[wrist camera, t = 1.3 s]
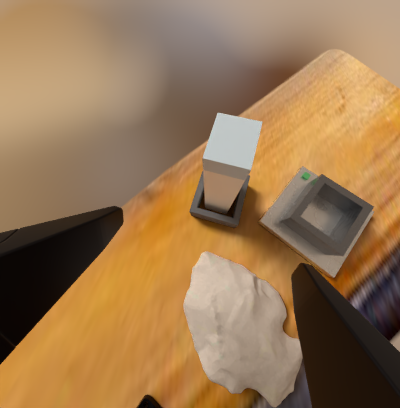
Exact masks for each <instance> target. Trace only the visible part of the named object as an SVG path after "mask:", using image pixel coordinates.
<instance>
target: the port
mask: <svg viewBox="0 0 400 408" xmlns="http://www.w3.org/2000/svg"><path fill="white" fill-rule="evenodd" d="M372 209H373V206H372V205H370V204H369V203H367V202H365V201H364V200H362V199H361V198H359V197H357V196H356V195H354V194H353V193H351V192H350V191H348V190H346V189H345V188H343V187H342V186H340V185H338V184H337V183H335V182H334V181H332V180H331V179H329V178H327V177H326V176H324V175H323V174H321V175H320V176H317V175H316V174H314V173H312V172H311V171H309V170H308V169H306V168H305V167H303V166H302V167H301V168H300V169H299V170H298V171H297V172H296V174H295V175H294V176H293V177H292V179H291V180H290V181H289V183H288V184H287V185H286V186H285V188H284V189H283V190H282V192H281V193H280V194H279V195H278V197H277V198H276V199H275V201H274V202H273V203H272V204H271V206H270V207H269V208H268V210H267V211H266V212H265V213H264V215H263V216H262V217H261V219H260V220H259V221H258V223H259V224H261V225H262V226H263V227H264V228H266V229H267V230H268V231H270V232H271V233H272V234H273V235H275V236H276V237H277V238H279V239H280V240H281V241H283V242H284V243H285V244H286V245H288V246H289V247H290V248H292V249H293V250H294V251H295V252H297V253H298V254H299V255H301V256H302V257H303V258H305V259H306V260H307V261H308V262H310V263H311V264H312V265H314V266H315V267H316V268H317V269H319V270H320V271H321V272H323V273H324V274H325V275H326V276H328V277H333V278H334V277H335V276H336V274H337V272H338V271H339V269H340V267H341V266H342V264H343V262H344V261H345V259H346V258H347V256H348V254H349V253H350V251H351V249H352V248H353V246H354V244H355V243H356V241H357V240H358V238H359V236H360V235H361V233H362V231H363V230H364V228H365V226H366V225H367V223H368V222H369V220H370V218H371V217H372V215H373V213H374V211H372Z"/></svg>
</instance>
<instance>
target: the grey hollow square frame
mask: <svg viewBox="0 0 400 408" xmlns="http://www.w3.org/2000/svg"><path fill="white" fill-rule="evenodd" d="M249 178H250V175H248V176H247V178H246V180H245V182H244V183H243V185H242V187H241V189H240V191H239V192H238V195H237V199H236V203H235V206H234V210H233V214H232V217H229V216H225V215H222V214H218V213H214V212H211V211H207V210H204V209H200V208H199V207H200V204H201V200H202V197H203V194H204V176H203V172H202V175H201V178H200V181H199V184H198V187H197V190H196V193H195V196H194V199H193V202H192V205H191V208H190V213H191V215H192V216H195V217H199V218H202V219H205V220H209V221H212V222H216V223H219V224H223V225H226V226H229V227H233V228H235V227H237V226H238V224H239V220H240V216H241V211H242V207H243V203H244V199H245V195H246V191H247V186H248V182H249Z"/></svg>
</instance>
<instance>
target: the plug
mask: <svg viewBox="0 0 400 408" xmlns="http://www.w3.org/2000/svg"><path fill="white" fill-rule="evenodd" d="M261 126H262V122H261V121H256V120H251V119H246V118H241V117H237V116H232V115H227V114H222V113H218V114H217V117H216V120H215V123H214V126H213V129H212V132H211V135H210V138H209V141H208V143H207V146H206V149H205V152H204V155H203V176H204V196H205V208H206V209H210V210H213V211H217V212H220V213H224V214H227V212H228V210H229V209H230V207H231V205H232V203H233V201H234V200H235V198H236V196H237V194H238V192H239V191H240V189H241V187H242V185H243V183H244V182H245V180H246V178H247V176H248V174H249V173H250V171H251V168H252V164H253V159H254V155H255V151H256V147H257V143H258V139H259V134H260V130H261Z"/></svg>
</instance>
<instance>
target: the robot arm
mask: <svg viewBox="0 0 400 408" xmlns="http://www.w3.org/2000/svg"><path fill="white" fill-rule="evenodd" d="M123 221H124V220H123V210H122V208H120V207H117V206H112V207H107V208H103V209H99V210H95V211H91V212H86V213H82V214H78V215H74V216H69V217H65V218H61V219H57V220H53V221H48V222H44V223H40V224H36V225H32V226H27V227H23V228H20V229H15V230H10V231H6V232H2V233H0V364H1V363H2V362H3V361H4V360H5V359H6V358H7V357H8V355H9V354H10V353H11V352H12V351H13V350H14V349H15V348H16V346H17V345H18V344H19V343H20V342H21V341H22V340H23V339H24V337H25V336H26V335H27V334H28V333H29V332H30V331H31V330H32V329H33V328H34V326H35V325H36V324H37V323H38V322H39V321H40V320H41V319H42V318H43V316H44V315H45V314H46V313H47V312H48V311H49V310H50V309H51V308H52V306H53V305H54V304H55V303H56V302H57V301H58V300H59V299H60V298H61V296H62V295H63V294H64V293H65V292H66V291H67V290H68V289H69V288H70V287H71V285H72V284H73V283H74V282H75V281H76V280H77V279H78V278H79V277H80V275H81V274H82V273H83V272H84V271H85V270H86V269H87V268H88V267H89V265H90V264H91V263H92V262H93V261H94V260H95V259H96V258H97V257H98V255H99V254H100V253H101V252H102V251H103V250H104V249H105V247H106V246H107V245H108V244H109V242H110V241H111V239H112V238H113V237H114V235H115V234H116V233H117V231H118V230H119V229H120V227H121V226H122V224H123ZM291 281H292V293H293V305H294V314H295V320H296V325H297V330H298V335H299V341H300V346H301V351H302V356H303V362H304V367H305V372H306V377H307V383H308V388H309V393H310V398H311V404H312V408H400V352H399V351H398V350H397V349H396V348H395V347H394V346H393V345H392V344H391V343H390V342H389V341H388V340H387V339H386V338H385V337H384V336H383V335H382V334H381V333H380V332H379V331H378V330H377V329H376V328H375V327H374V326H373V325H372V324H371V323H370V322H369V321H368V320H367V319H366V318H365V317H364V316H363V315H362V314H360V313H359V312H358V311H357V310H356V309H355V308H354V307H353V306H352V305H351V304H350V303H349V302H348V301H347V300H346V299H345V298H344V297H343V296H342V295H341V294H340V293H339V292H338V291H337V290H336V289H335V288H334V287H333V286H332V285H331V284H330V283H329V282H328V281H327V280H326V279H325V278H324V277H323V276H322V275H321V274H320V273H319V272H318V271H317V270H316V269H315V268H314V267H313V266H311V265H308V264H305V263H300V264H299V266H298V267H297V268H296V270H295V271H294V272H293V274H292V277H291ZM145 402H148V404H145ZM137 408H161V407H160V406H159V405H158V404H157V403H156V402H155V401H154V400H153V399H152V397H151V396H149V395H145V396H144V397H143V399H142V400H141V402H140V403H139V405H138V406H137Z"/></svg>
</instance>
